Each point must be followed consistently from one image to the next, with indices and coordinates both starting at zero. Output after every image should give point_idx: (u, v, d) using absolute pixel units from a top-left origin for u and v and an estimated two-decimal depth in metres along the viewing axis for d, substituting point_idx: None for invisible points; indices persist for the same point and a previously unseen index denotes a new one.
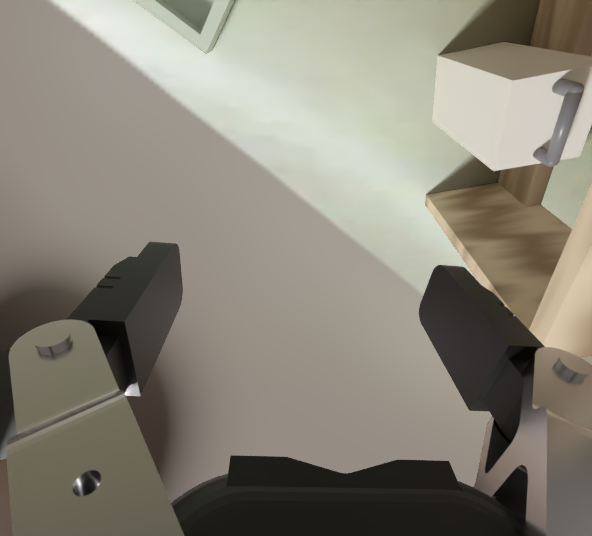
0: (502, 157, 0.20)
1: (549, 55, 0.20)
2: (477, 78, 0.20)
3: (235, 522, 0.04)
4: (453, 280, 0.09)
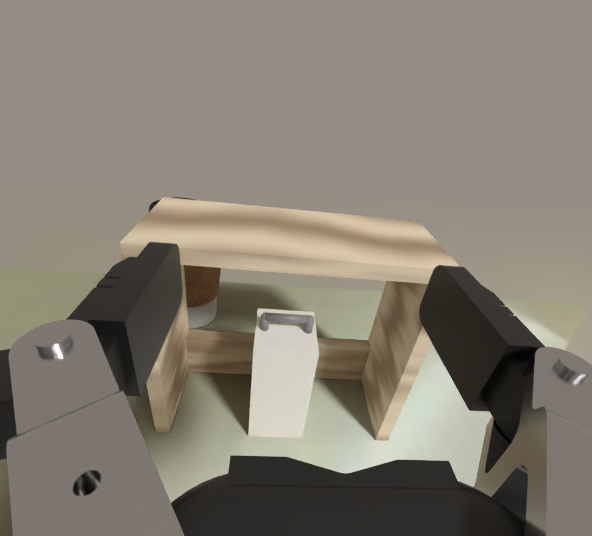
0: (308, 349, 0.25)
1: None
2: (257, 385, 0.26)
3: (235, 522, 0.04)
4: (453, 280, 0.09)
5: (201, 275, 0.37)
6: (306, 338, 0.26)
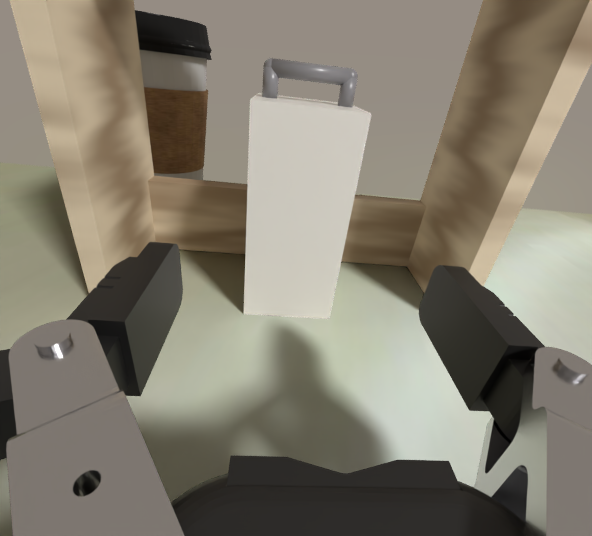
0: (351, 110, 0.14)
1: None
2: (258, 195, 0.15)
3: (235, 522, 0.04)
4: (453, 280, 0.09)
5: (176, 116, 0.25)
6: (344, 107, 0.15)
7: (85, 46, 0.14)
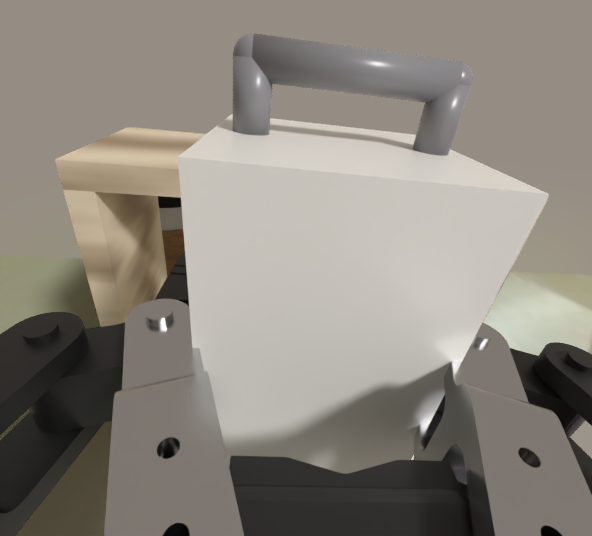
0: (480, 180, 0.05)
1: None
2: (222, 374, 0.06)
3: None
4: None
5: None
6: (441, 160, 0.06)
7: (134, 281, 0.18)
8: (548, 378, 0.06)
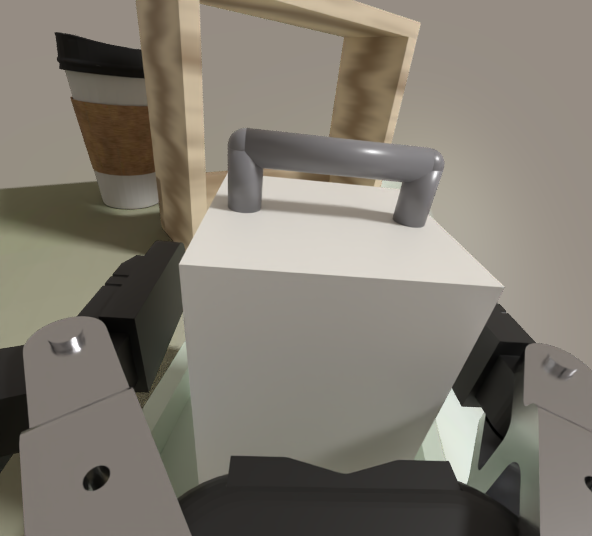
0: (446, 271, 0.05)
1: None
2: (218, 429, 0.07)
3: (235, 522, 0.04)
4: None
5: None
6: (415, 238, 0.06)
7: None
8: None
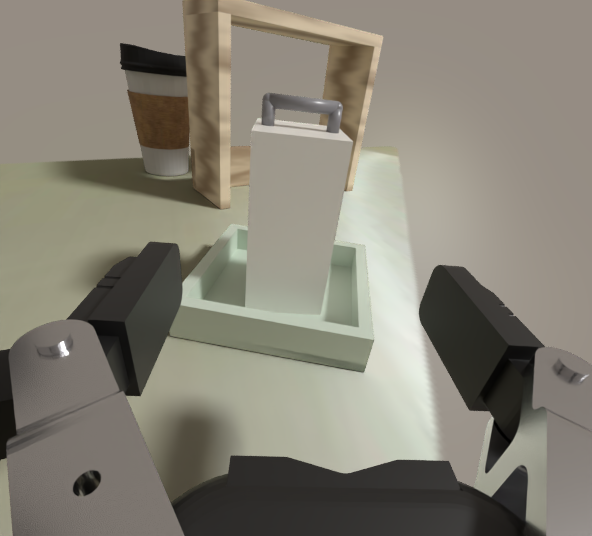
0: (336, 138, 0.16)
1: None
2: (257, 208, 0.18)
3: (235, 522, 0.04)
4: (453, 280, 0.09)
5: (184, 112, 0.43)
6: (331, 134, 0.17)
7: None
8: None
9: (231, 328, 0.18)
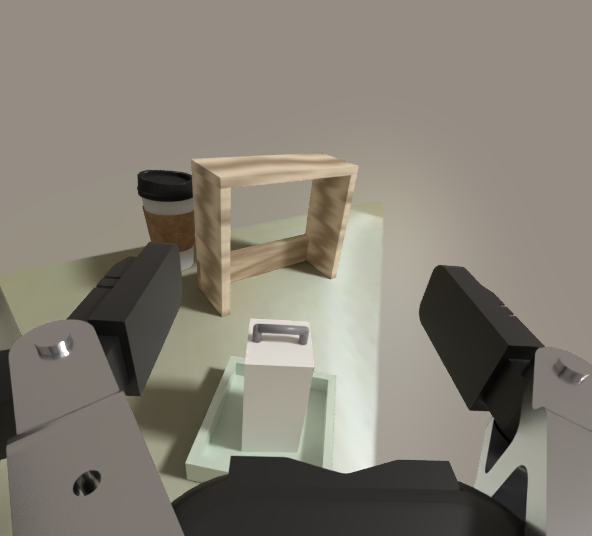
0: (303, 362, 0.24)
1: None
2: (250, 400, 0.25)
3: (235, 522, 0.04)
4: (453, 280, 0.09)
5: (191, 222, 0.50)
6: (301, 350, 0.25)
7: None
8: None
9: None
